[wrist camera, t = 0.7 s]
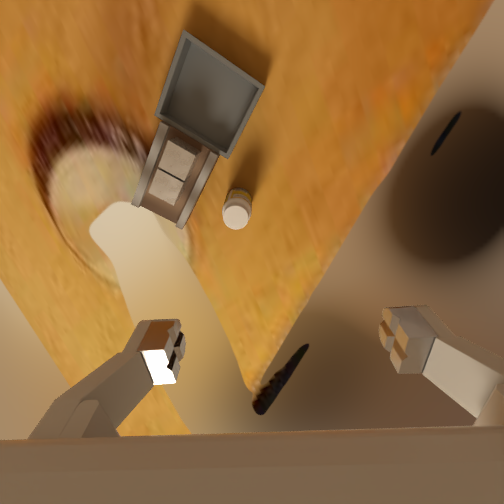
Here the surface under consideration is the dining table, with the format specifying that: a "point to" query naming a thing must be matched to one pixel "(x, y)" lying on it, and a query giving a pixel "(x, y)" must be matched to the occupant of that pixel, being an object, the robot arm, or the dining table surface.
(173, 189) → the grey small cube
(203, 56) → the bin
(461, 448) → the robot arm
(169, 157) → the beige cube
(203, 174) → the channel block
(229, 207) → the supplement bottle
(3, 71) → the dining table surface
